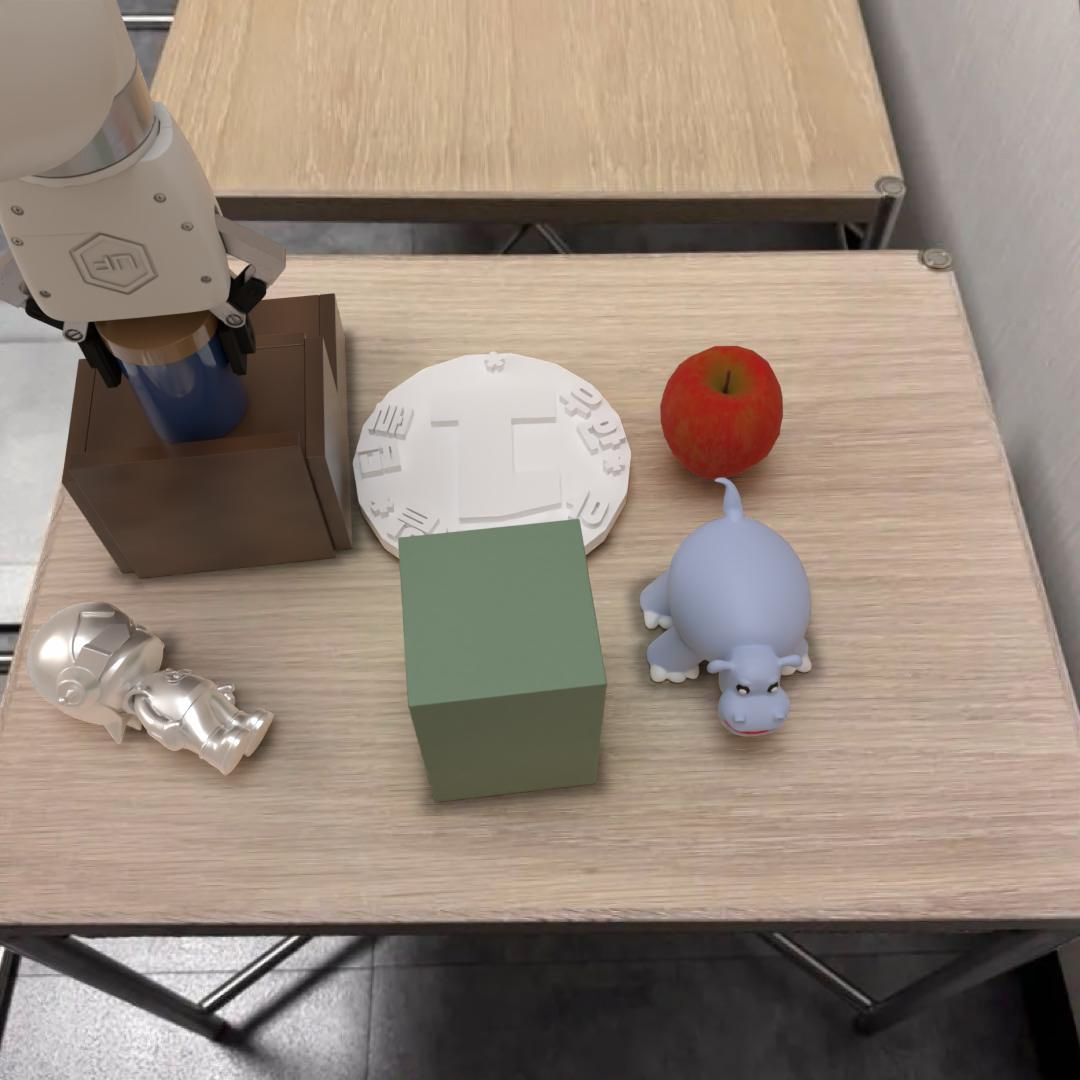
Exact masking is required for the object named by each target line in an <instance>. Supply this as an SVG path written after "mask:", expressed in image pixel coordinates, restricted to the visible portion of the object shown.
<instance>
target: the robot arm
mask: <svg viewBox="0 0 1080 1080" xmlns="http://www.w3.org/2000/svg"><path fill="white" fill-rule="evenodd" d="M140 65H141V64H140V62H139V59H138V57H137V54H136V52H135V48H134V46H133V43H132V41H131V39H130V35H129V33H128V29H127V26H126V24H125V21H124V17H123V15H122V12H121V10H120V7H119V4H118V2H117V0H0V226H1V229H2V232H3V234H4V237H5V239H6V242H7V244H8V246H9V248H8V249H7V251H6V252H5V253H4V254H3V255H1V257H0V300H1V301H3V302H5V303H7V304H8V305H11V306H13V307H15V308H17V309H20V308H21V309H24V312H25V314H26V315H27V316H29V317H30V318H32V319H34V320H36V321H38V322H41V323H43V324H45V325H48V326H49V327H52V328H55V329H57V330H60V331H62V333H61V334H62V337H63V338H64V339H65V340H66V341H68V342H71V343H74V344H75V343H76V344H77V345H78V346H79V349H80V351H81V352H82V354H83V356H84V359H85V358H86V360H87V362H88V363H89V365H90V367H91V368H92V369H95V368H97V369H98V371H99V373H100V375H101V377H102V379H103V380H104V382H105V384H106V386H107V388H115V387H118V385H120V384H121V378H122V370H121V368H120V366H119V364H118V362H117V360H116V358H115V356H114V355H113V354H112V353H111V352H110V351H109V350H108V349H107V348H106V346H105V345H104V343H103V341H102V339H101V337H100V335H99V333H98V331H97V329H96V327H95V324H94V321H105V320H117V319H129V318H140V317H150V316H161V315H170V314H180V313H190V312H197V311H204V310H210V311H211V312H212V313H213V314H214V315H215V316H217V317H218V318H219V324H218V332H219V337H220V339H221V342H222V344H223V347H224V350H225V352H226V355H227V358H228V360H229V363H230V366H231V368H232V371H233V373H234V374H237V376H240V375H246V374H247V354H253V353H255V352H256V340H255V334H254V330H253V327H252V324H251V321H250V318H249V315H248V313H249V312H250V311H251V310H252V309H253V308H254V307H255V306H256V305H257V304H258V303H259V302H260V301H261V300H264V298H265V296H266V295H267V290H268V289H269V287H270V286H272V285H273V284H274V283H275V282H276V281H277V280H278V278H279V277H280V276H281V275H282V274H283V272H284V271H285V270H286V268H287V249H286V247H285V245H283V244H281V243H279V242H277V241H276V240H274V239H271V238H269V237H266V236H264V235H263V234H260V233H258V232H256V231H254V230H252V229H250V228H249V227H246V226H244V225H242V224H239V223H238V222H235V221H233V220H231V219H229V218H228V217H225V216H224V215H223V213H222V210H221V207H220V204H219V203H218V200H217V198H216V195H215V193H214V191H213V188H212V186H211V184H210V182H209V180H208V178H207V175H206V173H205V171H204V168H203V167H202V165H201V163H200V161H199V158H198V157H197V154H196V153H195V152H194V149H193V147H192V146H191V144H190V142H189V141H188V138H187V137H186V136H185V134H184V132H183V130H182V128H181V127H180V126H179V124H178V122H177V121H176V119H175V118H174V117H173V114H172V113H171V112H170V110H169V109H168V107H167V106H166V105H165V104H164V103H163V102H161V101H155V100H153V99H152V96H151V93H150V90H149V87H148V85H147V82H146V79H145V76H144V74H143V71H142V68H141V66H140ZM227 255H230V256H231V257H234V258H236V259H238V260H240V261H242V262H244V263H247V264H248V265H246V266H245V268H244V269H242V271H240V273H239V274H236V273H235V271H233V270H232V269H231V268H230V266H229V262H228V256H227Z"/></svg>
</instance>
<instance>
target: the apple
mask: <svg viewBox="0 0 1080 1080" xmlns="http://www.w3.org/2000/svg"><path fill="white" fill-rule="evenodd" d="M661 397H662V398H661V401H660V405H659V412H660V413H659V414H660V415H659V416H660V425H661V431H662V434H663V438H664V440H665V442H666V444H667V446H668V448H669V449H670V451H671V453H672V455H673V456H674V457H675V458H676V460H678V461H679V463H681V465H682V466H683V467H684V468H685V469H686V470H688V471H689V472H691V473H693V474H694V475H695V476H697V477H699V478H703V479H707V480H714V481H715V479H716V478H726V479H728V478H732V477H734V476H737V475H739V474H742V473H744V472H746V471H748V470H750V469H752V468H754V467H755V466H756V465H758V464H759V463H760V462H761V461H763V460H765V458H768V456H769V454H770V453H771V452H772V450H773V448H774V446H775V444H776V442H777V441H778V439H779V437H780V435H781V428H782V423H783V419H784V400H783V392H782V387H781V384H780V382H779V380H778V377H777V375H776V373H775V371H774V370H773V368H772V367H771V364H770V363H769V361H768V360H767V359H766V358H764V357H762V356H761V355H760V354H759V353H757V352H756V351H755V350H754V349H750V348H746V347H742V346H739V345H714V346H712V347H709V348H707V349H704V350H702V351H700V352H697V353H695V354H693V355H690V356H688V357H687V358H686V359H684V360H683V361H682V362H681V363H679V364H678V366H677V367H676V368H675V370H674V371H673V372H672V374H671V375H670V376H669V378H668V379H667V382H666V384H665V388H664V390H663V393H662V396H661Z"/></svg>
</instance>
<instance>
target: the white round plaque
mask: <svg viewBox="0 0 1080 1080" xmlns="http://www.w3.org/2000/svg"><path fill="white" fill-rule="evenodd" d="M626 435H627V434H626V433H625V429H624V427H623V423H622V420H621V417H620V414H618V412H616V410H615V409H614V408H613V407H612V406H611V404H610V403H609V402H608V401H607V400H606V398H604V396H603V395H602V394H601V392H600V391H598V389H597V388H596V387H595V386H594V384H592V383H590V382H588V381H587V380H586V379H583V378H581V376H579V375H576V374H575V373H573V372H572V371H569V370H568V369H566V368H564V367H562V366H561V365H559V364H558V363H555V362H551V361H547V360H543V359H538V358H534V357H530V356H526V355H522V354H518V353H513V352H510V353H509V352H508V353H507V352H504V353H498V351H497V350H496V351H489V353H485V354H484V353H480V354H479V353H478V354H475V353H474V354H465V355H462V356H459V357H455V358H451V359H449V360H445V361H443V362H440V363H436V364H433V365H431V366H430V365H429V366H427V367H425V368H424V367H423V368H422V369H421V370H419V371H418V372H416V373H415V374H413V375H412V376H411V377H409V378H407V379H406V380H405V381H402V383H400V384H398V385H396V386H395V387H394V388H393V389H391V390H389V391H388V392H387V393H386V394H385V396H384V397H383V398H382V400H381V401H380V402H376V405H375V409H374V410H373V411H372V413H371V414H370V416H369V417H368V418H367V419H366V421H365V422H364V423H363V425H362V428H361V432H360V436H359V439H358V442H357V444H356V450H355V453H354V457H353V461H352V467H353V468H352V469H353V473H354V480H355V485H356V486H355V487H356V495H357V500H358V504H359V508H360V509H359V510H360V512H361V515H362V516H363V518H364V520H365V521H366V523H367V524H368V525H369V527H370V529H371V530H372V532H373V533H374V534H375V536H376V537H377V539H378V541H379V543H380V544H381V545H382V547H383V548H384V550H386V551H387V552H389V553H390V554H391V555H393V556H394V557H396V558H397V559H399V547H398V538H400V537H410V536H419V535H429V534H439V533H448V532H458V531H467V530H477V529H486V528H496V527H505V526H515V525H524V524H534V523H543V522H553V521H563V520H572V519H579V520H580V525H581V531H582V537H583V543H584V549H585V554H586V556H587V555H588V554H590V553H591V552H592V551H593V550H595V549H596V548H597V547H598V546H600V545H601V544H602V543H603V542H605V540H606V539H607V537H608V535H609V533H610V532H611V530H612V528H613V526H614V525H615V523H616V522H617V519H618V518H619V517H620V514H621V513H622V511H623V510H624V508H625V506H626V503H627V497H628V496H627V495H628V488H629V487H628V486H629V477H630V469H631V460H632V451H631V447H630V445H629V441H628V439H627V436H626Z"/></svg>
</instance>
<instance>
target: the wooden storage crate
mask: <svg viewBox="0 0 1080 1080" xmlns="http://www.w3.org/2000/svg"><path fill="white" fill-rule="evenodd" d="M248 315H249V318H250V321H251V324H252V327H253V330H254V334H255V340H256V352H255V353H253V354H247V374H246V375H241V376H242V379H243V382H244V384H245V387H246V390H247V394H248V405H247V409H246V412H245V414H244V416H243V418H242V419H241V421H240V422H239V423H238V424H237V426H235V427H234V428H233V429H232V430H231V431H230V432H228V433H227V434H225V435H224V436H222V437H220V438H218V439H214V440H204V441H194V442H184V443H171V442H168V441H166V440H164V439H162V438H161V437H159V436H158V435H157V434H156V433H155V432H154V431H153V430H152V429H151V427H150V425H149V423H148V421H147V420H146V418H145V416H144V414H143V412H142V410H141V408H140V406H139V404H138V402H137V400H136V398H135V396H134V394H133V392H132V390H131V388H130V386H129V384H128V382H127V380H126V378H125V376H124V374H123V372H122V378H121V384H120V385H118V387H115V388H107V386H106V384H105V382H104V380H103V379H102V377H101V375H100V373H99V371H98V369H97V368H95V369H92V368H91V367H90V365H89V363H88V362H87V360H86V358H85V357H84V358H79V359H78V362H77V368H76V375H75V383H74V392H73V398H72V406H71V412H70V420H69V427H68V434H67V440H66V441H67V442H66V448H65V455H64V462H63V468H62V476H61V484H62V485H63V487H64V489H65V490H66V491H67V493H68V494H69V497H70V498H71V499H72V501H73V502H74V503H75V505H76V506H77V508H78V510H79V511H80V513H81V514H82V515H83V517H84V518H85V520H86V522H87V523H88V524H89V526H90V527H91V529H92V530H93V532H94V533H95V534H96V536H97V538H98V539H99V541H100V542H101V543H102V546H103V547H104V549H106V551H107V552H108V554H109V556H110V557H111V558H112V560H113V561H114V563H115V565H116V566H117V567H118V569H119V570H120V572H121V573H132V572H133V573H135V575H136V576H137V579H145V578H155V577H165V576H171V575H172V576H174V575H181V574H183V575H184V574H193V573H202V572H203V573H204V572H211V571H223V570H231V569H240V568H250V567H258V566H259V567H260V566H268V565H269V566H270V565H277V564H278V565H279V564H287V563H297V562H307V561H317V560H326V559H334V558H336V551H342V550H352V549H353V530H352V502H351V501H352V500H351V498H352V497H351V470H350V468H351V467H350V442H349V440H350V439H349V437H350V436H349V415H348V413H349V412H348V410H349V409H348V385H347V384H348V383H347V382H348V381H347V357H346V354H347V352H346V335H345V331H344V327H343V323H342V319H341V315H340V310H339V306H338V301H337V297H336V294H335V292H333V293H322V294H321V293H320V294H312V295H311V294H310V295H301V296H300V295H299V296H288V297H277V298H265V299H262V300H261V301H260V302H259V303H258V304H257V305H256V306H255V307H254V308H253V309H252V310H251V311H250V312H249V313H248Z"/></svg>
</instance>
